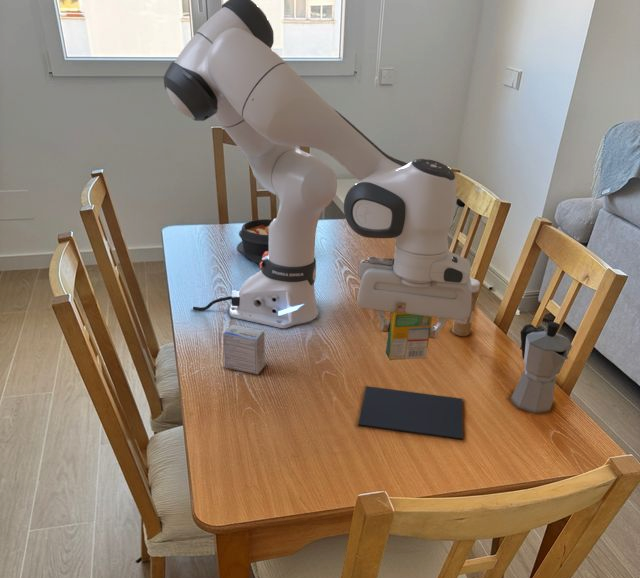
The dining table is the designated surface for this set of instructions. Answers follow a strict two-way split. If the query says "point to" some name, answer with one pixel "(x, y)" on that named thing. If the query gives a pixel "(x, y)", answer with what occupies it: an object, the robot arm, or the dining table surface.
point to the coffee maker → (540, 366)
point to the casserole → (254, 239)
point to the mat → (412, 413)
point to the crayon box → (407, 335)
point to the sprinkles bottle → (464, 326)
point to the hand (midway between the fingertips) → (409, 333)
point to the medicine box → (244, 349)
